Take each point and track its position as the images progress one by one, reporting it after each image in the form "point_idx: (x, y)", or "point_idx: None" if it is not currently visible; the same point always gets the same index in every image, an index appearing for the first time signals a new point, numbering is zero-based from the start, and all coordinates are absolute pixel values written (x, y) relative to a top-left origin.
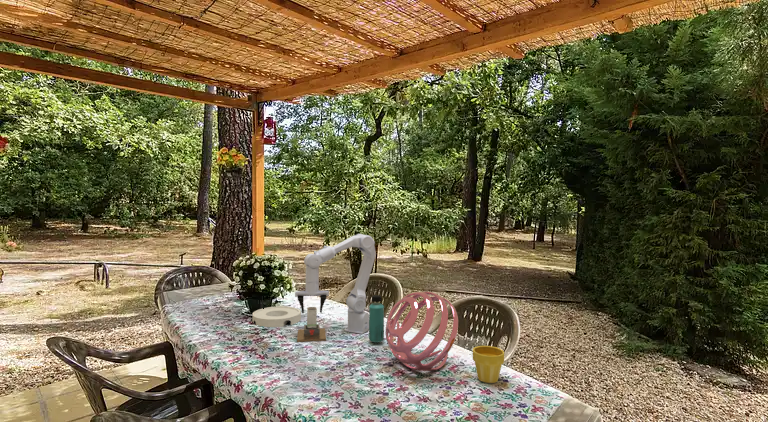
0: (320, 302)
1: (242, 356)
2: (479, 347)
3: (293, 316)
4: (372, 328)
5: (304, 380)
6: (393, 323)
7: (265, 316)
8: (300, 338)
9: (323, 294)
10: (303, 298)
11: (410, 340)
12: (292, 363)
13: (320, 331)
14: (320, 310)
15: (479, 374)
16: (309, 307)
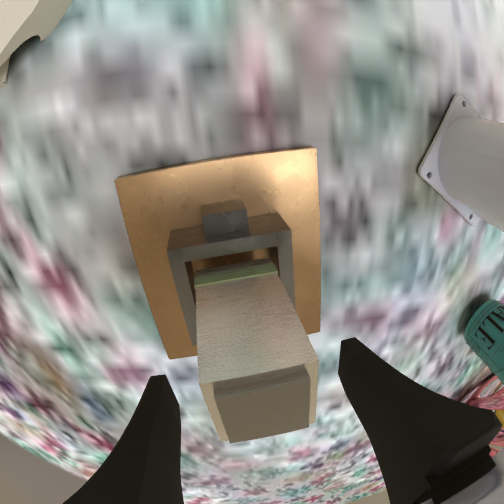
0: (391, 405)
1: (53, 436)
2: None
3: (35, 4)
4: (491, 370)
5: (258, 494)
6: (501, 443)
7: None
8: (181, 344)
9: (455, 500)
10: (139, 496)
11: None
12: (213, 467)
13: (287, 220)
14: (349, 393)
15: (498, 418)
16: (233, 407)
